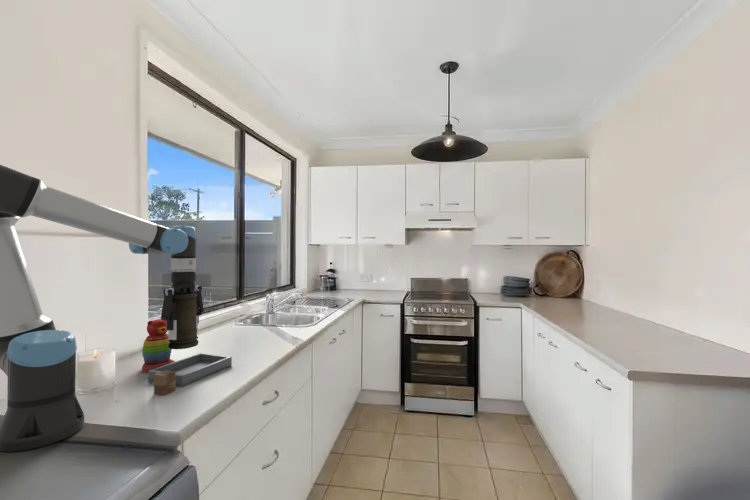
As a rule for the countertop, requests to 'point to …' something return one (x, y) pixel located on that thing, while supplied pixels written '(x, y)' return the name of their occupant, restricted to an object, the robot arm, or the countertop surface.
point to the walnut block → (164, 383)
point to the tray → (193, 368)
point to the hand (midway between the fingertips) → (183, 336)
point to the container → (185, 322)
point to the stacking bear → (156, 346)
